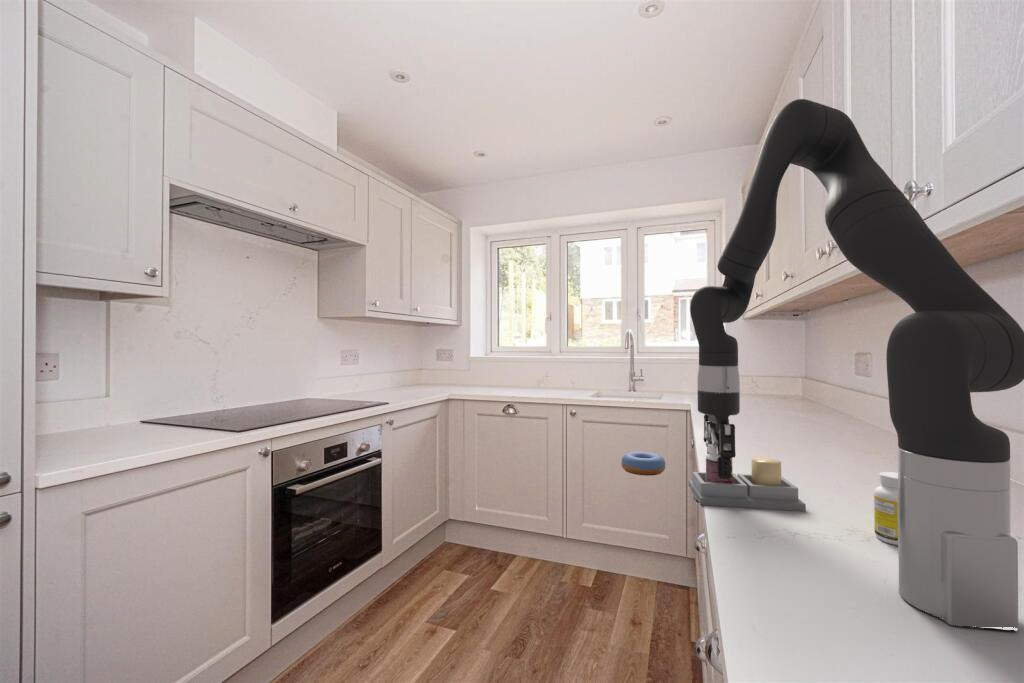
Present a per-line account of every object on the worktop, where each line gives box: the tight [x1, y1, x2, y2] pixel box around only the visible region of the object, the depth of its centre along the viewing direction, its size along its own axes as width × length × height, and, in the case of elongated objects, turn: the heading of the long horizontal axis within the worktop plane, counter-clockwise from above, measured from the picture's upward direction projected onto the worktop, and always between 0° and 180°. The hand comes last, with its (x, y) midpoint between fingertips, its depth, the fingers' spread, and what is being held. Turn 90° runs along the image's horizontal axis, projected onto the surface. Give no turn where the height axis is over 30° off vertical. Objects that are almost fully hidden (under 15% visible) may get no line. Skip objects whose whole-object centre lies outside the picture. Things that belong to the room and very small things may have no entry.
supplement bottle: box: [873, 471, 898, 546], centre depth 71 cm, size 5×5×10 cm
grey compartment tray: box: [688, 457, 807, 512], centre depth 90 cm, size 12×18×7 cm
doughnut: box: [620, 451, 666, 477], centre depth 110 cm, size 10×10×5 cm
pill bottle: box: [705, 444, 733, 484], centre depth 91 cm, size 5×5×8 cm
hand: (718, 472), depth 91 cm, fingers open, 8 cm apart
